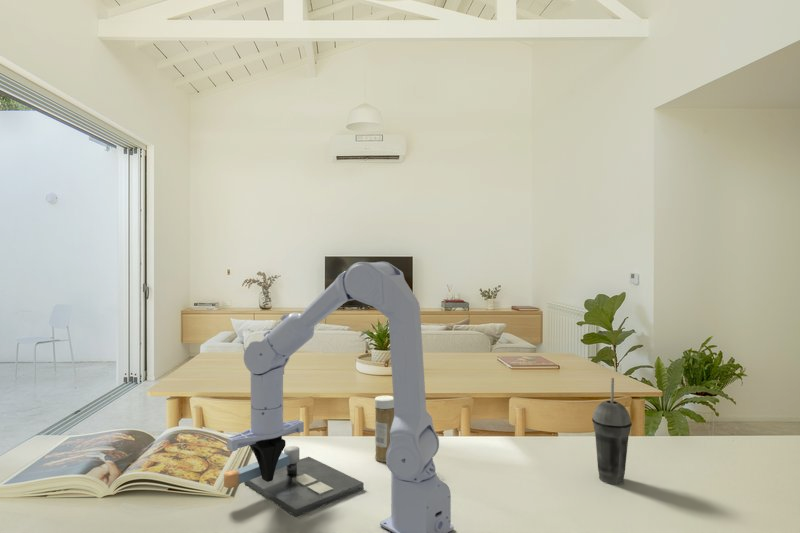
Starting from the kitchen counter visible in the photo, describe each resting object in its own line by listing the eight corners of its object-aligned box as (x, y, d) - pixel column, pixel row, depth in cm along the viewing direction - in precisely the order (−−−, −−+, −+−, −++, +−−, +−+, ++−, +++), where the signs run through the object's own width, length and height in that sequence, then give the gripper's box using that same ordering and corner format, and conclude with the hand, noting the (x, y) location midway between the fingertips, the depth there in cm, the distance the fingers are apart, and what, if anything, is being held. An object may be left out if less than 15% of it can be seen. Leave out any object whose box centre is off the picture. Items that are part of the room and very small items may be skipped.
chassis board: (363, 489, 98) (363, 471, 98) (296, 516, 87) (295, 496, 87) (308, 462, 111) (308, 446, 111) (244, 483, 100) (244, 465, 100)
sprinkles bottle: (399, 460, 112) (399, 398, 112) (381, 464, 109) (381, 401, 109) (388, 453, 116) (388, 393, 116) (370, 457, 113) (370, 396, 113)
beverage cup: (589, 482, 101) (590, 380, 101) (594, 469, 107) (594, 373, 107) (629, 490, 97) (630, 385, 97) (632, 476, 104) (633, 377, 104)
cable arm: (229, 489, 89) (229, 475, 89) (220, 484, 91) (220, 470, 91) (302, 461, 102) (302, 448, 102) (292, 457, 104) (292, 445, 104)
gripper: (289, 393, 102) (289, 462, 102) (218, 408, 92) (219, 484, 92) (310, 400, 97) (310, 472, 97) (237, 417, 87) (238, 497, 87)
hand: (267, 479), depth 94 cm, fingers closed
